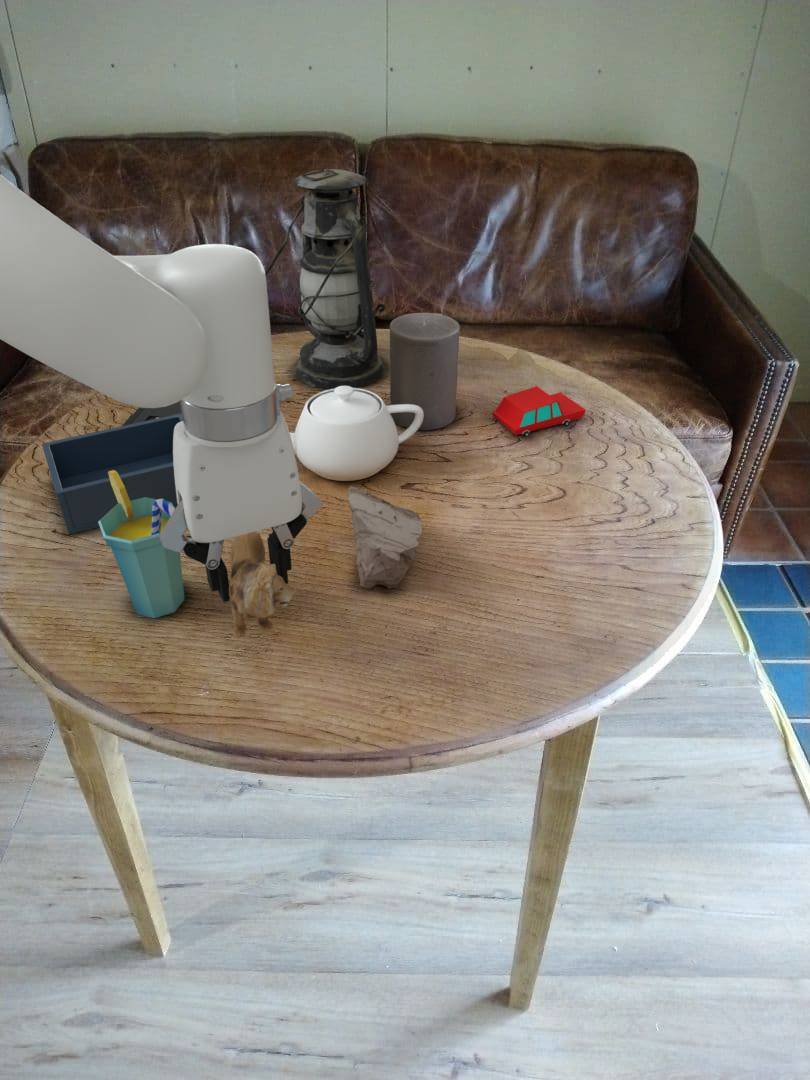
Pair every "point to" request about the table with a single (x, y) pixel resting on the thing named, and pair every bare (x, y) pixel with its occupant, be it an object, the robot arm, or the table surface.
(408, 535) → the stone
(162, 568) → the cup
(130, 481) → the dark blue storage bin
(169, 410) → the vhs tape
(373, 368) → the lantern
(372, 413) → the teapot
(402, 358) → the pillar candle
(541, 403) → the toy car
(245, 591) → the lion figurine
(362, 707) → the table surface
